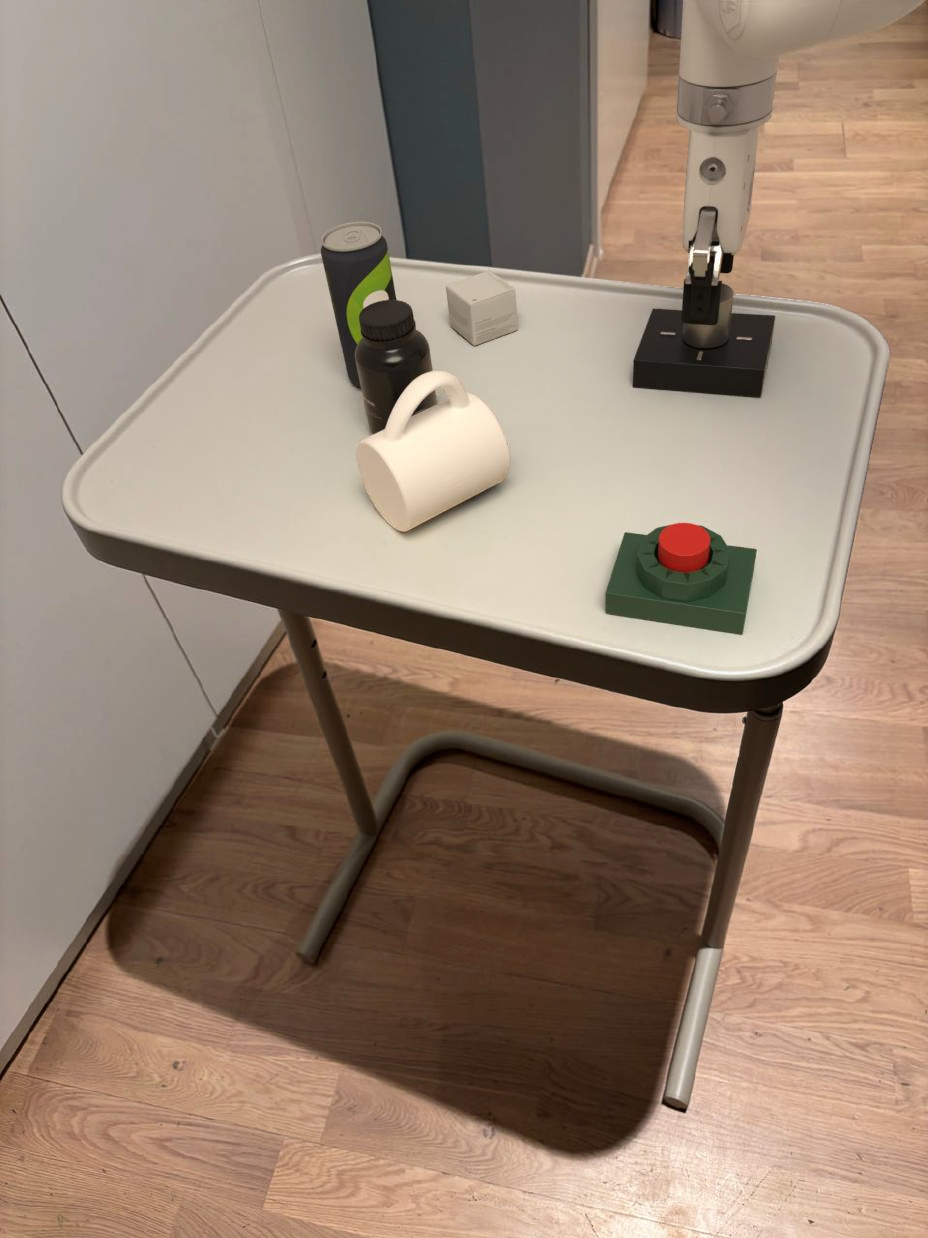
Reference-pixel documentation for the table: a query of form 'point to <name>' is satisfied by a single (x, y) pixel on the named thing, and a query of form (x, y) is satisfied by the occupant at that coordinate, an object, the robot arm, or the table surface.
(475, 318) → the small box
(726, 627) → the button box
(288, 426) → the table surface
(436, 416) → the mug
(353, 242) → the beverage can
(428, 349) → the supplement bottle
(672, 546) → the button
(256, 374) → the table surface
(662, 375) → the dial panel
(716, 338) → the dial
